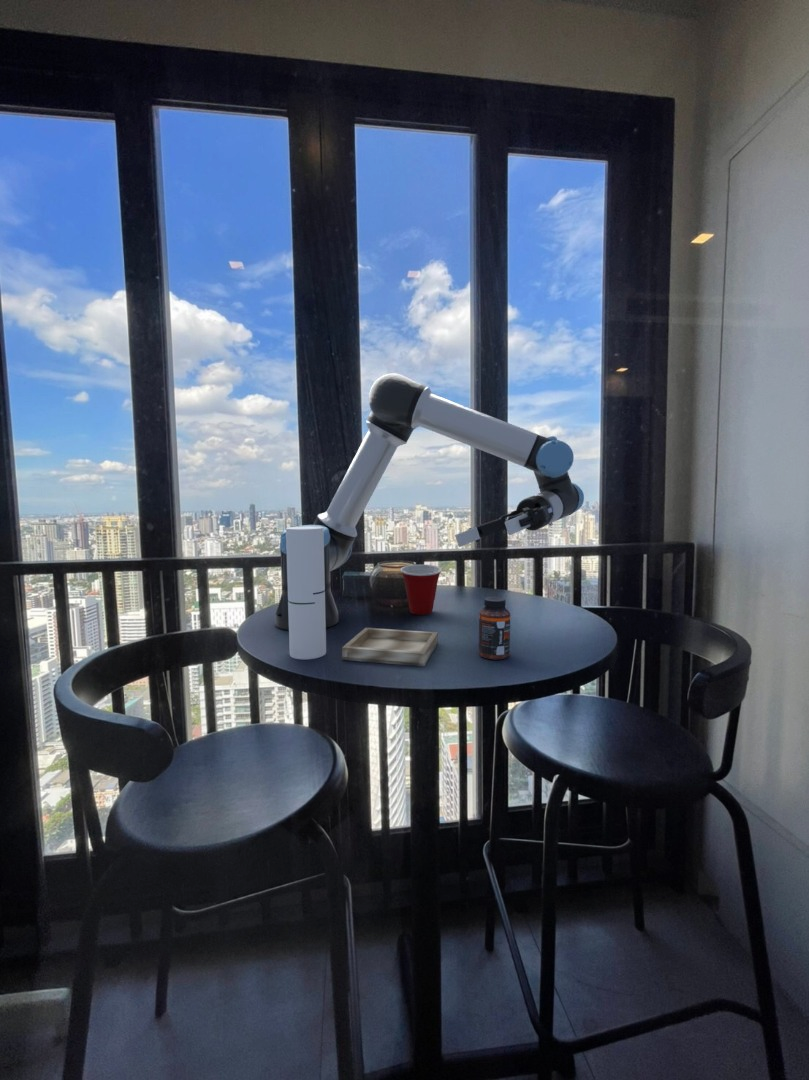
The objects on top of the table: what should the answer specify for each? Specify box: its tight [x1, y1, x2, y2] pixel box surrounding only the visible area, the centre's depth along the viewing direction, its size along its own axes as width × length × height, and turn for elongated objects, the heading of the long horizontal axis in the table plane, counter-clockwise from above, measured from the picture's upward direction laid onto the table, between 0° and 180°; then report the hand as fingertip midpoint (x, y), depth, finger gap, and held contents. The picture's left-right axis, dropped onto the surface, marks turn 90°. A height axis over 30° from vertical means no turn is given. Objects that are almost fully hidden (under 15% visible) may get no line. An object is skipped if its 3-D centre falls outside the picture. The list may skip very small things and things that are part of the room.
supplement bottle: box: [478, 596, 511, 661], centre depth 96 cm, size 6×6×11 cm
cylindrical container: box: [285, 526, 327, 660], centre depth 97 cm, size 7×7×25 cm
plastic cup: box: [400, 564, 442, 616], centre depth 130 cm, size 11×11×12 cm
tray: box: [341, 627, 439, 667], centre depth 99 cm, size 16×14×2 cm
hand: (481, 534), depth 100 cm, fingers open, 13 cm apart
